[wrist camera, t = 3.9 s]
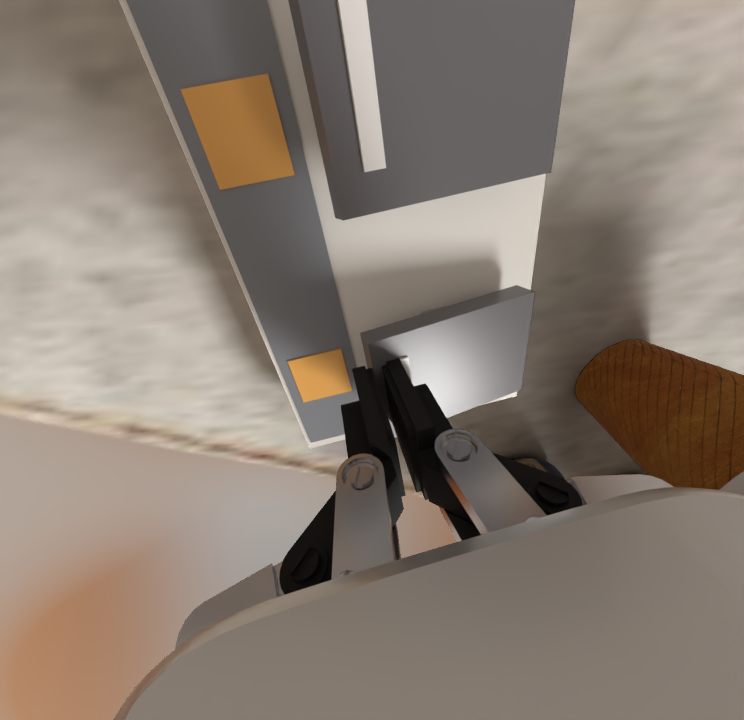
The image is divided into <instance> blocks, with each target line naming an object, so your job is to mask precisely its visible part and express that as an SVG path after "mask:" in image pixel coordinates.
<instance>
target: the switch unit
mask: <svg viewBox="0 0 744 720" xmlns="http://www.w3.org/2000/svg"><path fill="white" fill-rule="evenodd" d="M119 3H120V5H121V7H122V10H123V12H124V14H125V17H126V19H127V21H128V24H129V26H130V28H131V31H132V33H133V35H134V38H135V40H136V42H137V45H138V47H139V49H140V52H141V54H142V56H143V59H144V61H145V63H146V66H147V68H148V71H149V73H150V75H151V78H152V80H153V82H154V85H155V87H156V89H157V92H158V94H159V96H160V99H161V101H162V103H163V106H164V108H165V110H166V113H167V115H168V117H169V120H170V122H171V124H172V127H173V129H174V131H175V134H176V136H177V139H178V141H179V143H180V146H181V148H182V150H183V153H184V155H185V157H186V160H187V162H188V164H189V167H190V169H191V171H192V174H193V176H194V178H195V181H196V183H197V185H198V188H199V190H200V192H201V195H202V197H203V200H204V202H205V204H206V207H207V209H208V211H209V214H210V216H211V218H212V221H213V223H214V225H215V228H216V230H217V232H218V235H219V237H220V239H221V242H222V244H223V246H224V249H225V251H226V253H227V256H228V258H229V260H230V263H231V265H232V268H233V270H234V272H235V275H236V277H237V279H238V282H239V284H240V286H241V289H242V291H243V293H244V296H245V298H246V300H247V303H248V305H249V307H250V310H251V312H252V314H253V317H254V319H255V321H256V324H257V326H258V328H259V331H260V333H261V336H262V338H263V340H264V343H265V345H266V347H267V350H268V352H269V354H270V357H271V359H272V361H273V364H274V366H275V368H276V371H277V373H278V375H279V378H280V380H281V382H282V385H283V387H284V389H285V392H286V394H287V396H288V399H289V401H290V404H291V406H292V408H293V411H294V413H295V415H296V418H297V420H298V422H299V425H300V427H301V429H302V432H303V434H304V436H305V439H306V441H307V443H308V446H309V448H314V447H318V446H322V445H326V444H330V443H333V442H337V441H341V440H345V432H344V425H343V419H342V412H341V405H343V404H347V403H351V402H355V401H359V397H358V393H357V389H356V384H355V380H354V376H353V372H352V369H353V368H357V367H361V366H365V368H366V369H368V368H367V363H366V359H365V354H364V349H363V345H362V340H361V335H360V333H361V332H365V331H368V330H371V329H375V328H378V327H381V326H384V325H388V324H391V323H394V322H397V321H401V320H404V319H407V318H411V317H414V316H417V315H420V314H424V313H427V312H430V311H433V310H437V309H440V308H443V307H447V306H450V305H453V304H456V303H460V302H463V301H466V300H469V299H473V298H476V297H479V296H483V295H486V294H489V293H492V292H496V291H499V290H502V289H505V288H509V287H512V286H515V285H518V286H521V287H523V288H526V289H529V290H531V283H532V276H533V268H534V261H535V253H536V246H537V238H538V230H539V223H540V215H541V208H542V200H543V193H544V185H545V178H546V174H542V175H538V176H533V177H529V178H525V179H520V180H516V181H512V182H507V183H503V184H499V185H494V186H490V187H486V188H481V189H477V190H473V191H469V192H464V193H460V194H456V195H451V196H447V197H443V198H438V199H434V200H430V201H425V202H421V203H417V204H413V205H408V206H404V207H400V208H395V209H391V210H387V211H382V212H378V213H374V214H369V215H365V216H361V217H357V218H352V219H348V220H344V221H343V220H340V219H337V218H335V215H334V210H333V205H332V201H331V196H330V192H329V187H328V182H327V178H326V173H325V168H324V164H323V159H322V155H321V150H320V145H319V141H318V136H317V131H316V127H315V122H314V117H313V113H312V108H311V104H310V99H309V94H308V90H307V85H306V80H305V76H304V71H303V67H302V62H301V57H300V53H299V48H298V43H297V39H296V34H295V29H294V25H293V20H292V16H291V11H290V6H289V2H288V0H119ZM515 396H517V392H514V393H511V394H509V395H506V396H504V397H501V398H498V399H496V400H493V401H490V402H488V403H491V402H495V401H499V400H503V399H507V398H511V397H515ZM488 403H485V404H488ZM483 405H484V404H483Z"/></svg>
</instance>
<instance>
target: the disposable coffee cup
mask: <svg viewBox="0 0 744 720" xmlns="http://www.w3.org/2000/svg"><path fill="white" fill-rule="evenodd" d="M575 394H576V398H577V399H578V401H579V402H580V403H581V404H582V405H583V406H584V407H585V408H586V409H587V410H588V411H589V412H590V413H591V414H592V415H593V417H594V418H595V419H596V420H597V421H598V422H599V423H600V424H601V425H602V426H603V427H604V428H605V429H606V431H607V432H608V433H609V434H610V435H611V436H612V437H613V438H614V439H615V441H617V442H618V443H619V445H620V446H621V447H622V448H623V449H624V450H625V451H626V452H627V453H628V454H629V455H630V456H631V457H632V458H633V460H634V461H635V462H636V463H637V464H638V465H639V466H640V467H641V468H642V469H643V470H644V471H645V472H646V474H647V475H650V476H653V477H656V478H659V479H661V480H663V481H665V482H667V483H668V484H670V485H672V486H673V487H690V488H705V489H715V490H722V491H728V492H734V493H738V494H743V495H744V375H741V374H738V373H736V372H733V371H730V370H727V369H723V368H721V367H718V366H715V365H712V364H709V363H706V362H703V361H700V360H697V359H695V358H691V357H688V356H686V355H683V354H680V353H677V352H674V351H671V350H668V349H665V348H662V347H659V346H656V345H653V344H650V343H647V342H645V341H642V340H627V341H623V342H620V343H618V344H615V345H613V346H611V347H609V348H607V349H606V350H604V351H603V352H601V353H600V354H598V355H597V356H596V357H595V358H594V359H593V360H592V361H591V362H590V363H589V364H588V365H587V366H586V367H585V369H584V370H583V371H582V373H581V374H580V376H579V378H578V380H577V384H576V387H575Z"/></svg>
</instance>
